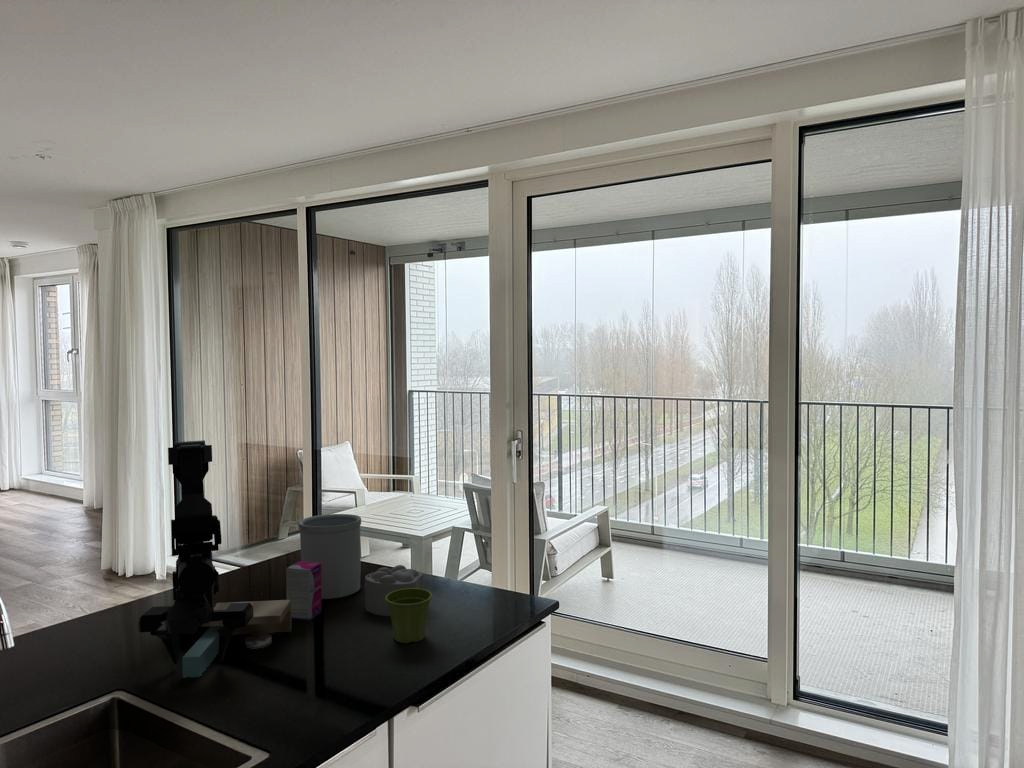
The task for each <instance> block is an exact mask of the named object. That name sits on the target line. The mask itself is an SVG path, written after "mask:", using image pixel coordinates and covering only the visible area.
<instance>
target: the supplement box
mask: <svg viewBox="0 0 1024 768" xmlns="http://www.w3.org/2000/svg"><path fill="white" fill-rule="evenodd" d="M285 572H286V579H285V580H286V581H285V582H286V583H285V585H286V599H285V600H291V621H297V620H300V622H311V621H312V619H314V618H315V617H317V616H318V615H319V614H321V613H322V612H323V611H322V610H323V609H322V608H323V607H322V604H323V603H322V600H323V599H321V598H322V596H321V563H317V562H302V561H301V560H299V561H297V562H295V563H293V564H292V565H290V566H288V567H287V568H286V571H285Z"/></svg>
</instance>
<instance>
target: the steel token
mask: <svg viewBox="0 0 1024 768" xmlns="http://www.w3.org/2000/svg"><path fill="white" fill-rule="evenodd" d="M272 636H273V635H272V633H270V634H269V633H256V634H249V635H247V636H246V637H245V638H244V647H245V646H246V647H247V648H251V649H256V648H262V647H265V646H268V645H269V644H271V643H272V644H273V641H272V638H273V637H272ZM272 644H271V645H272ZM246 647H245V648H246ZM268 647H269V646H268ZM247 648H246V649H247ZM251 649H250V650H251ZM262 649H263V648H262ZM256 650H257V649H256Z"/></svg>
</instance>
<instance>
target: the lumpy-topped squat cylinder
mask: <svg viewBox="0 0 1024 768" xmlns="http://www.w3.org/2000/svg"><path fill="white" fill-rule="evenodd" d="M424 579H425V577H424V573H423V572H421V571H419V570H416V569H414V568H413V569H412V568H406V566H405V565H402V564H398V565H396V566H394V567H391V568H389V567H380V568H378V569H377V570H376V571H375V572H373V571H371V572H370V573H367V574H366V575H365V576H364V603H365V604H364V605H365V608H366V609H365V610H366V611H367V612H368V611H369V612H368V613H370V612H371V613H370V614H372V615H375V616H376V615H377V616H384V617H391V614H390V608H389V607H388V602H387V601H386V599H385V597H386V595H387V594H389V593H390V592H392V591H395V590H399V589H405V588H420V589H425V584H424V583H425V580H424Z"/></svg>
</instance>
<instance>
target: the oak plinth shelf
mask: <svg viewBox="0 0 1024 768" xmlns="http://www.w3.org/2000/svg"><path fill="white" fill-rule="evenodd" d="M231 603H250V604H251V605H252V606H253V617H252V619H251V620H250V621H249V622H248V624H247V625H246V626H245V627H242V628H237V629H236V630H235V631H234V632H233V633H232V635H231V636H236V635H235V634H249V635H252V634H256V633H270V634H275V633H274V632H290V633H292V631H293V628H292V627H293V626H292V623H293V622H292V620H291V600H286V599H279V600H277V599H276V600H275V599H274V600H255V601H253V600H252V601H232V602H231V601H229V602H216V606H215V607H214V610H226V609H227V608H228V606H229V605H230V604H231ZM211 626H222V621H209V623H208V624H202V627H201V628H205V627H211ZM291 630H292V631H291Z"/></svg>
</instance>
